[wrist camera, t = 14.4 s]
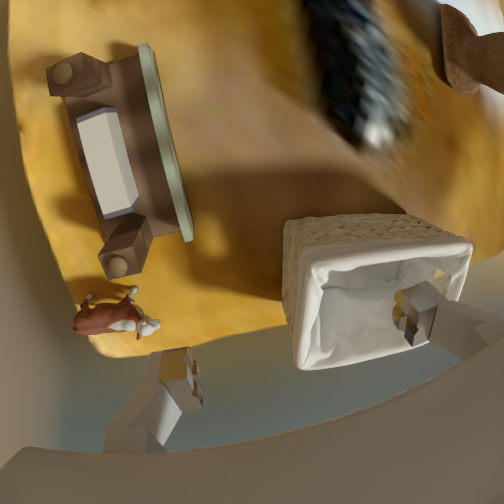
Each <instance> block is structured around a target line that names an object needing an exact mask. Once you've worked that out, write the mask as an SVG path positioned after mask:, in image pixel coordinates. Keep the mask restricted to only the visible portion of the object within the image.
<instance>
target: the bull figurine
mask: <svg viewBox="0 0 504 504" xmlns="http://www.w3.org/2000/svg"><path fill="white" fill-rule="evenodd" d="M138 290H139V288H138V287H137V286H133V287H132V288H130V293H129V294H127V295H126V297H125V298H124V299H123V300H122V301H121V302H119V303H117V304H115V303H101V304H99V305H97V306H96V307H94V308H93V309H91V308H89V306H88V302H89V301H90V300H91V299H92V298H93V297H94V295H93V294H92V293H89V294H88V296H87V297H85V301H84V302H83V303H82V304H81V305H80V308H81V310H80V311H79V312H78V313H77V315H76V316H75V318H74V321H73V322H74V327H73V330H74V331H75V332H76V333H79V334H81V335H97V334H102V333H112V332H125V331H138V333H137V340H139V339H140V337H141V336H148V335H150V334H152V333H153V331H155V330H156V329H159V328H160V326H161V323H160V321H159V320H157V319H156V320H152V319H151V318H150V317H148V316H147V315H145V314H144V312H143V310H142V309H141V308H140V307H139V306H138V305H134V304H135V301H134V300H131V299H132V296H133V294H135V293H136V292H137V291H138Z"/></svg>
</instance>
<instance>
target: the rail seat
mask: <svg viewBox="0 0 504 504" xmlns="http://www.w3.org/2000/svg"><path fill="white" fill-rule="evenodd" d="M138 50H139V55H136V56H132V57H129V58H126V59H123V60H120V61H118V62H115V63H112V64H107V63H104V62H102V61H100V60H98V59H96V58H94V57H91V56H89V55H87V54H85V53H82V52H80V53H78V54H76V55H73V56H71V57H69V58H67V59H65V60H63V61H61V62H59V63H57V64H55V65H53V66H51V67H49V68H47V69H46V75H47V81H48V87H49V93H50V96H60V97H65V100H66V105H67V110H68V114H69V119H70V123H71V128H72V132H73V136H74V140H75V144H76V148H77V152H78V156H79V159H80V163H81V167H82V170H83V173H84V177H85V180H86V183H87V187H88V190H89V193H90V196H91V199H92V202H93V205H94V208H95V211H96V214H97V217H98V220H99V223H100V225H101V228H102V231H103V234H104V236H105V239H106V243H105V245H104V246H103V248H102V250H101V251H100V253H99V254H98V258H99V261H100V263H101V265H102V268H103V270H104V272H105V275H106V277H107V279H108V280H112V279H116V278H120V277H125V276H129V275H133V274H137V273H141V272H142V269H143V266H144V263H145V260H146V257H147V254H148V251H149V248H150V246H151V243H152V240H153V238H154V237H158V236H162V235H166V234H170V233H174V232H179V231H182V235H183V238H184V241H185V242H189V241H193V235H194V222H193V218H192V214H191V211H190V207H189V203H188V199H187V195H186V191H185V188H184V184H183V180H182V176H181V172H180V167H179V163H178V159H177V155H176V151H175V147H174V142H173V138H172V134H171V129H170V125H169V120H168V116H167V111H166V107H165V102H164V97H163V93H162V88H161V83H160V78H159V73H158V68H157V63H156V57H155V52H154V51H153V50H152V48H151V47H150V46H149V45H148V44H147V43H145V44H142V45H138ZM104 107H106V108H116V110H117V114H118V119H119V123H120V127H121V132H122V136H123V140H124V144H125V148H126V152H127V155H128V159H129V163H130V167H131V170H132V174H133V178H134V181H135V185H136V188H137V191H138V195H139V198H140V201H139V203H138V204H137V206H136V207H135V209H134V210H133V212H130V213H126V214H123V215H119V216H116V217H113V218H109V219H106V220H105V219H104V216H103V213H102V210H101V207H100V204H99V201H98V198H97V194H96V191H95V188H94V185H93V182H92V178H91V175H90V171H89V168H88V164H87V161H86V157H85V153H84V150H83V146H82V142H81V138H80V134H79V130H78V125H77V121H76V118H79V117H81V116H84V115H86V114H89V113H91V112H94V111H96V110H99V109H102V108H104Z"/></svg>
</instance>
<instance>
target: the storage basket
mask: <svg viewBox="0 0 504 504" xmlns="http://www.w3.org/2000/svg"><path fill="white" fill-rule="evenodd" d="M283 239H284V241H283V259H282V268H283V272H282V288H281V292H282V305H283V308H284V313H285V315H286V321H287V323H288V331H289V333H290V334H291V338H292V341H293V359H294V362H295V363H296V366H297V367H298V368H299V369H302V370H317V369H325V368H331V367H338V366H344V365H348V364H354V363H358V362H362V361H366V360H370V359H374V358H378V357H382V356H386V355H390V354H394V353H398V352H402V351H406V350H410V349H413V348H416V347H419V346H421V345H424V344H426V343H429V340H428V341H426V342H423V343H421V344H419V345H416V346H414V347H411V345H410V344H409V343H408V341H407V340H406V339H405V338H404V332H403V331H400V330H398V329H397V327H396V326H395V324H394V322H393V317H392V311H393V308H394V306H395V305H396V302H395V301H394V295H395V293H396V291H399V290H402V289H405V288H408V287H410V286H413V285H416V284H418V283H421V282H423V281H428V282H429V283H430V284H431V285H433V281H434V277H435V274H436V270H437V269H441V270H442V271H444V272H445V273H447V274H449V278H448V279H447V281H446V287H445V289H444V292H443V296H444V297H446V298H447V299H448V300H449V301H450V300H454V301H457V302H458V299H459V296H460V293H461V290H462V287H463V284H464V281H465V278H466V275H467V270H468V266H469V262H470V258H471V255H472V251H473V247H472V244H471V243H469V242H468V241H467V240H466V239H465V238H464V237H462V236H456V235H455V234H452V233H450V232H448V231H443V230H442V229H441V228H438V227H437V226H435V225H432V224H430V223H428V222H427V221H424V220H422V219H420V218H417V217H415V216H413V215H405V214H379V213H371V214H351V215H349V214H339V215H335V216H324V217H318V218H316V217H314V216H313V217H312V216H310V217H305V218H303V219H291V220H286V223H285V225H284V229H283Z"/></svg>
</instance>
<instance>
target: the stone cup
mask: <svg viewBox="0 0 504 504" xmlns="http://www.w3.org/2000/svg"><path fill="white" fill-rule="evenodd" d="M440 15H441V28H442V43H443V54H444V67H445V74H446V78H447V81H448V83H449V84H450V85H451V86H452V87H453V88H454V89H456V90H457V91H459V92H461V93H463V94H467V95H472V94H475V93H477V91H478V89H479V85H480V84H484V85H486V86H488V87H490V88H492V89H494V90H495V91H497V92H499V93H501V94H504V32H497V33H491V34H487V35H484V36H478V35H477V31H476V29H475V28H474V26H473V25H472V24H471V23H470V20H469V19H468V18H467V17H466V15H464V14H463V13H462V12H461V11H459V10H457V9H456V8H454V7H452V6H450V5H448V4H440Z"/></svg>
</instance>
